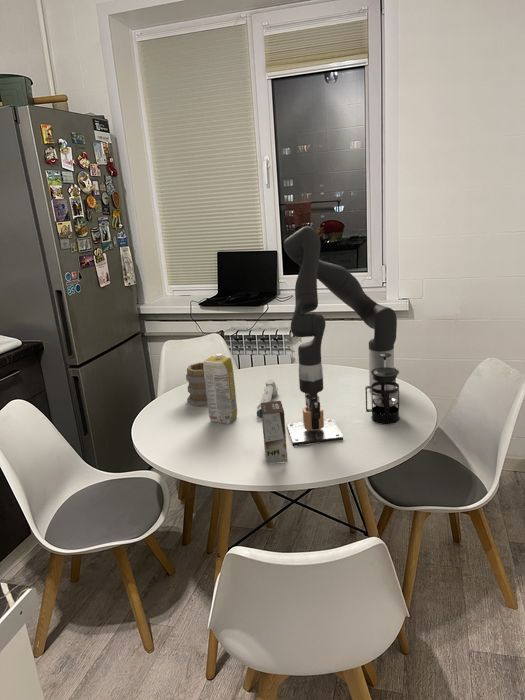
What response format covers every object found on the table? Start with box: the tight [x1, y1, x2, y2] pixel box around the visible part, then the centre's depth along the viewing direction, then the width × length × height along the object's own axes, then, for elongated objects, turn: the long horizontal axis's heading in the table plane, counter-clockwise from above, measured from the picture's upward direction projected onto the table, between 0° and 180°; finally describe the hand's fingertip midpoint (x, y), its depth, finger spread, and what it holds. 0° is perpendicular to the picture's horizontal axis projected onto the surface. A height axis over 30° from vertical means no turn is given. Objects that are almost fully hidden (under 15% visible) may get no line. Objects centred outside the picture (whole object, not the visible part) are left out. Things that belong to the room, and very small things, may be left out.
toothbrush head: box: [256, 379, 279, 419], centre depth 195 cm, size 5×7×25 cm
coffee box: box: [261, 400, 288, 465], centre depth 155 cm, size 9×6×16 cm
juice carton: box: [202, 353, 238, 425], centre depth 182 cm, size 9×8×24 cm
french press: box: [364, 353, 401, 425], centre depth 173 cm, size 12×9×23 cm
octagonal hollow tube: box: [302, 405, 325, 431], centre depth 168 cm, size 6×6×7 cm
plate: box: [286, 418, 344, 447], centre depth 168 cm, size 16×14×6 cm
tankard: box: [185, 355, 226, 407], centre depth 205 cm, size 20×13×15 cm, turn 129°
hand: (313, 424), depth 168 cm, fingers closed on octagonal hollow tube, 6 cm apart
